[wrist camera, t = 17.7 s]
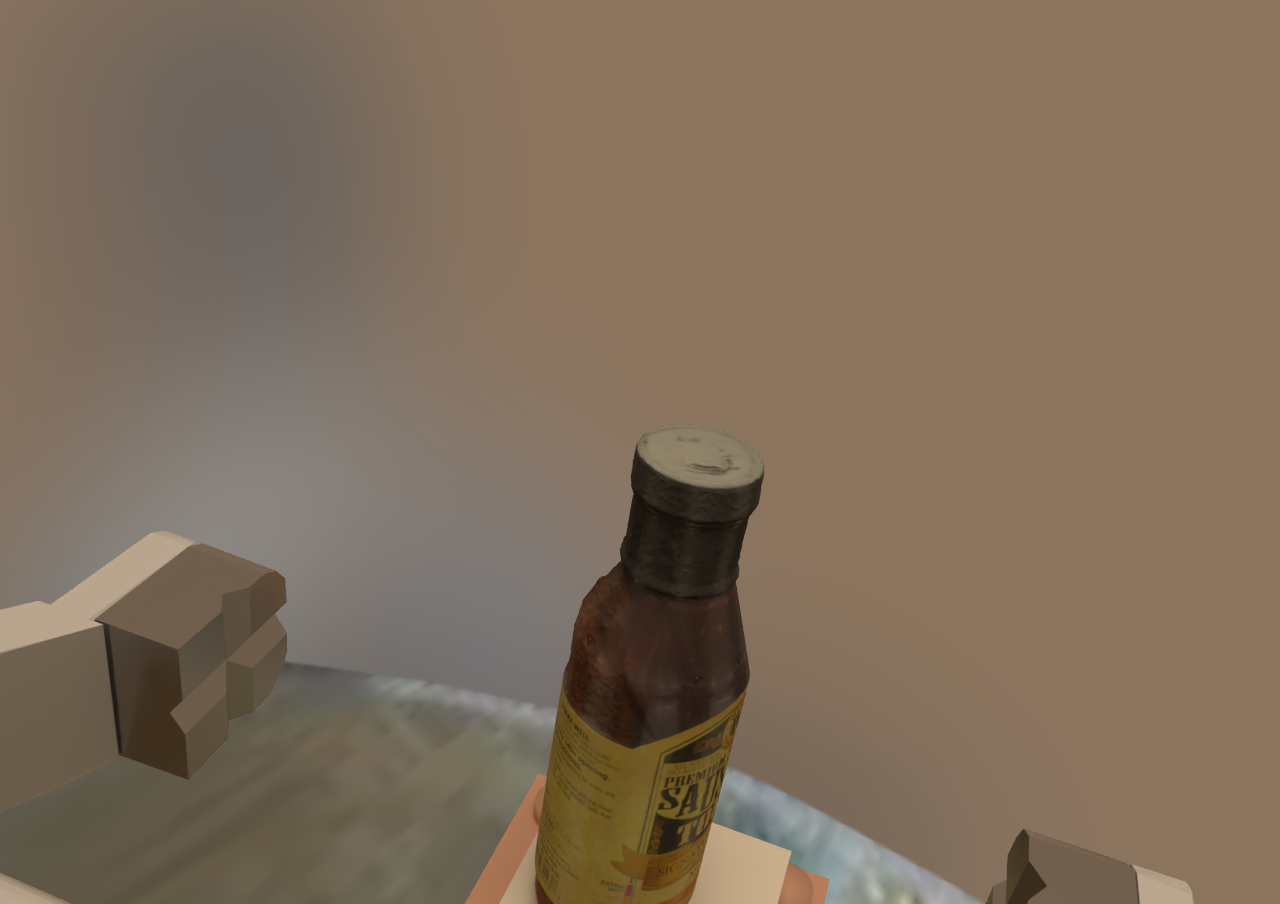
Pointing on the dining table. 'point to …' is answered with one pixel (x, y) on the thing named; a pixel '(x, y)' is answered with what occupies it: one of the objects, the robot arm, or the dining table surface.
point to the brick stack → (725, 888)
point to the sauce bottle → (653, 683)
